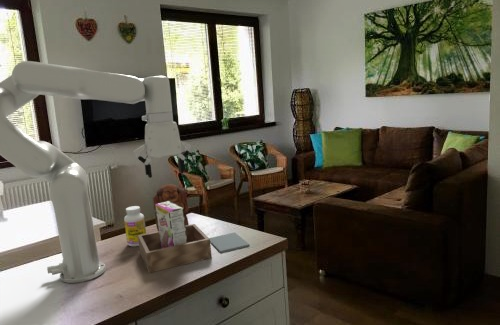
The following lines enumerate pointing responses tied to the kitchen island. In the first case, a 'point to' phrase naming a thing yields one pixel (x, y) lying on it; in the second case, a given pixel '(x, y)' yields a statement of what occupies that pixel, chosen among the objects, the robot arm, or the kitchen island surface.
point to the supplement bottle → (134, 225)
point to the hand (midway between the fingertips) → (165, 174)
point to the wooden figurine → (171, 199)
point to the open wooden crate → (174, 249)
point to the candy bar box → (171, 224)
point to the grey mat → (228, 242)
